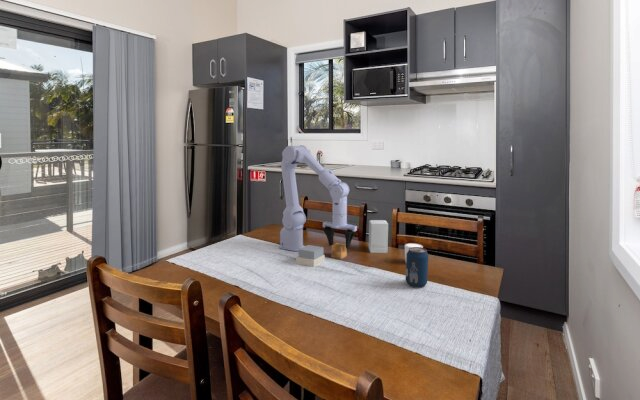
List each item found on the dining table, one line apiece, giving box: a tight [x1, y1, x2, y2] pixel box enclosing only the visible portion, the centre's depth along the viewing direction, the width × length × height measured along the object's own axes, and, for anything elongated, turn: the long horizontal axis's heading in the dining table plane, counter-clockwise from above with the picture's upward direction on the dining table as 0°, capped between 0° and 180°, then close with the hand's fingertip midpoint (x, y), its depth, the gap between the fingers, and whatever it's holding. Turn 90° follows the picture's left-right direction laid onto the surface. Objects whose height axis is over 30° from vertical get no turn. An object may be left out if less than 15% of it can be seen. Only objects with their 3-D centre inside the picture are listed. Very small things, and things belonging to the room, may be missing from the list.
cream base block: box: [295, 254, 326, 268], centre depth 152 cm, size 8×8×3 cm
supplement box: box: [367, 219, 389, 254], centre depth 166 cm, size 7×7×13 cm
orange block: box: [331, 242, 348, 260], centre depth 158 cm, size 4×4×5 cm
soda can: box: [405, 247, 429, 289], centre depth 128 cm, size 7×7×12 cm
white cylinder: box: [404, 242, 424, 264], centre depth 151 cm, size 7×7×7 cm
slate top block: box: [297, 244, 325, 260], centre depth 151 cm, size 7×7×3 cm
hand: (339, 246), depth 158 cm, fingers open, 7 cm apart
